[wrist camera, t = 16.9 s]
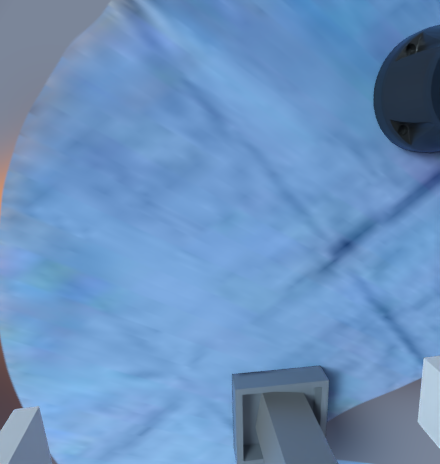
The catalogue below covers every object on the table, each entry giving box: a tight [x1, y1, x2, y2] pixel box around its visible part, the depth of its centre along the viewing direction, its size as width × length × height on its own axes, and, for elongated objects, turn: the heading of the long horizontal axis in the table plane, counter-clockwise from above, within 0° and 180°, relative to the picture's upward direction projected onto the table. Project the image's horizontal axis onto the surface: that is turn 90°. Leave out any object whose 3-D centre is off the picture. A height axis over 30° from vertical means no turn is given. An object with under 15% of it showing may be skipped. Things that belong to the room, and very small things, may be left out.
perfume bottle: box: [255, 392, 338, 464], centre depth 47 cm, size 7×7×18 cm
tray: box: [232, 366, 329, 464], centre depth 55 cm, size 14×14×4 cm
